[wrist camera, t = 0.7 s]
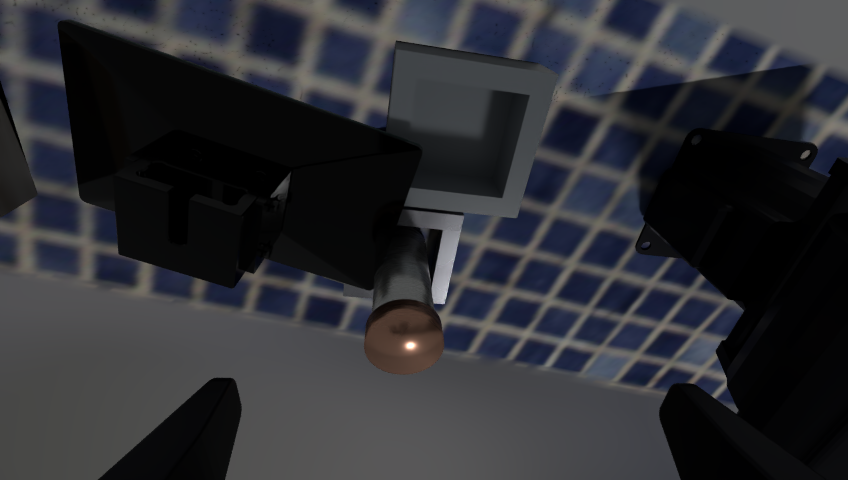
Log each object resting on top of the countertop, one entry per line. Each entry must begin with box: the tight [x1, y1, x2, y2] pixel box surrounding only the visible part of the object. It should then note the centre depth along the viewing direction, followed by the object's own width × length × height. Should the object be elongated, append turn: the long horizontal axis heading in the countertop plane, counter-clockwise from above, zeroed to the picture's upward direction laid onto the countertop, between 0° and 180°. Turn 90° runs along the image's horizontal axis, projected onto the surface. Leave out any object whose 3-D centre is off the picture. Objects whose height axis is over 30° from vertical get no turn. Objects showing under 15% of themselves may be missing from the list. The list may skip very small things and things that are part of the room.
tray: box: [386, 41, 558, 218], centre depth 17 cm, size 6×6×2 cm
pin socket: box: [343, 206, 464, 304], centre depth 20 cm, size 5×5×1 cm
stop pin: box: [364, 225, 444, 374], centre depth 18 cm, size 3×3×7 cm
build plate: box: [58, 20, 423, 291], centre depth 15 cm, size 12×7×5 cm, turn 71°
